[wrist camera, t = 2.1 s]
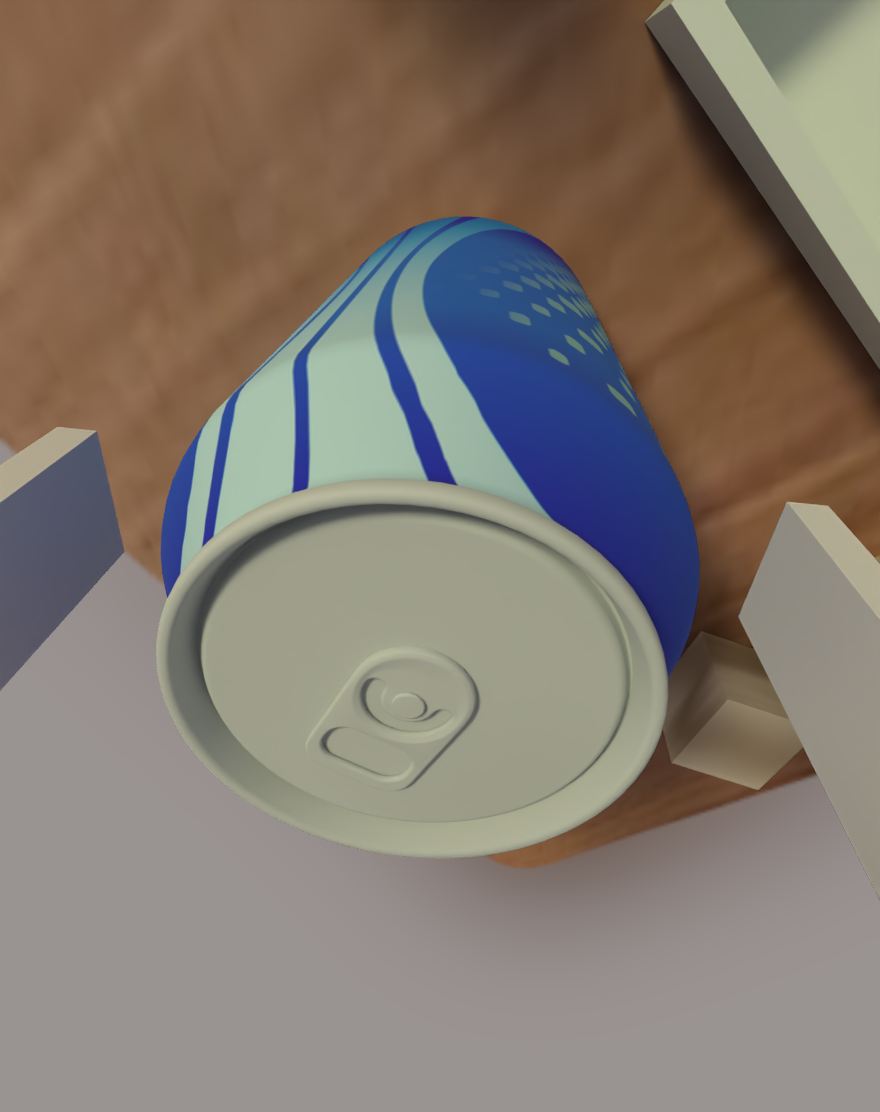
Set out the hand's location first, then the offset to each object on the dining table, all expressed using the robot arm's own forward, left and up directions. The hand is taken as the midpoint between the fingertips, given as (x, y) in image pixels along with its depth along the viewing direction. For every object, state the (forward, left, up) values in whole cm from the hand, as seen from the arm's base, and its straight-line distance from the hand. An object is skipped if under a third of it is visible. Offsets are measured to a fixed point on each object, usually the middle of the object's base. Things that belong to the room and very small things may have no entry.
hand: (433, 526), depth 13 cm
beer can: (0, 0, -11) cm, 11 cm away
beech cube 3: (+2, +18, -11) cm, 21 cm away
